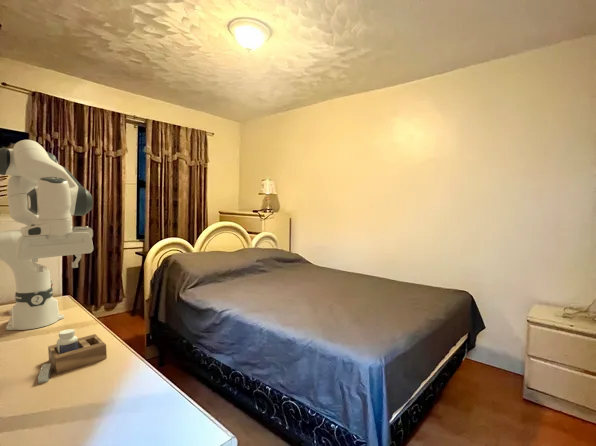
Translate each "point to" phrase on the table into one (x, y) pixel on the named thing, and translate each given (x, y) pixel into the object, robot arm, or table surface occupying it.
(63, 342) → the pill bottle
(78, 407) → the table surface
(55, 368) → the wooden compartment tray
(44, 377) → the slim grey peg
